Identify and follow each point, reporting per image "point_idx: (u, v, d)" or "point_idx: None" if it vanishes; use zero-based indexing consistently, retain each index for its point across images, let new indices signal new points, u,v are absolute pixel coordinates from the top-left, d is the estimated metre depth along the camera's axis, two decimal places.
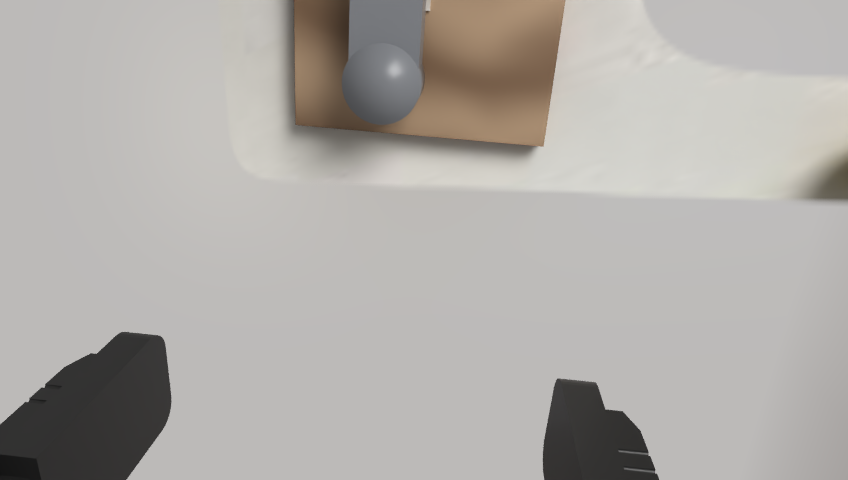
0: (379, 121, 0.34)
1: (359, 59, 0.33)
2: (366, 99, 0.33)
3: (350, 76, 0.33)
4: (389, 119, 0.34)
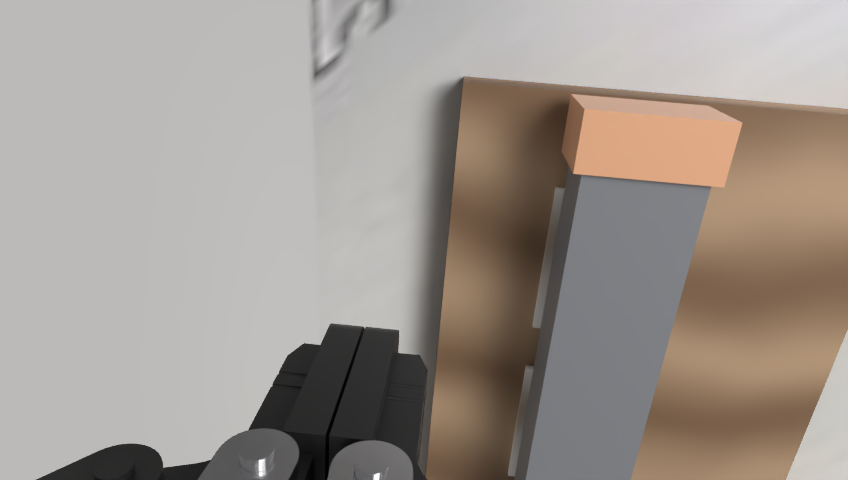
0: None
1: None
2: None
3: None
4: None
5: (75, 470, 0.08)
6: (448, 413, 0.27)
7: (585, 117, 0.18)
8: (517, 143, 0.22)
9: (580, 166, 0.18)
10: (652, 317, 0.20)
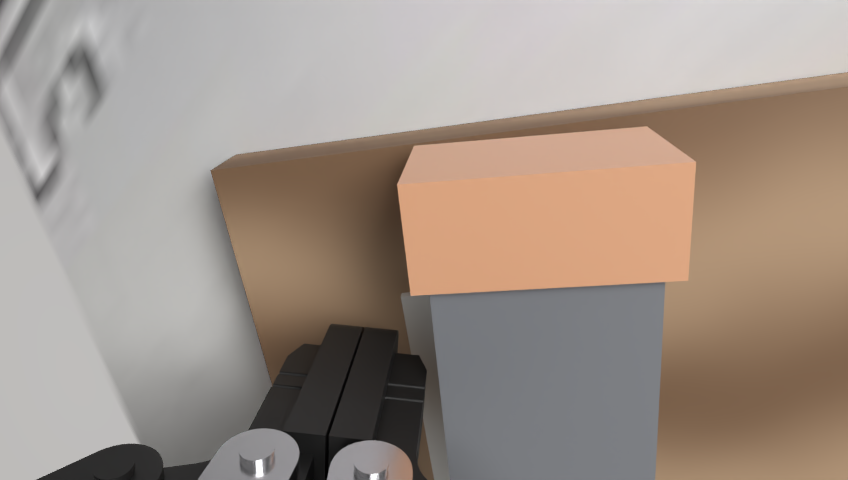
0: None
1: None
2: None
3: None
4: None
5: (75, 470, 0.08)
6: None
7: (402, 199, 0.10)
8: (322, 242, 0.14)
9: (419, 282, 0.10)
10: None
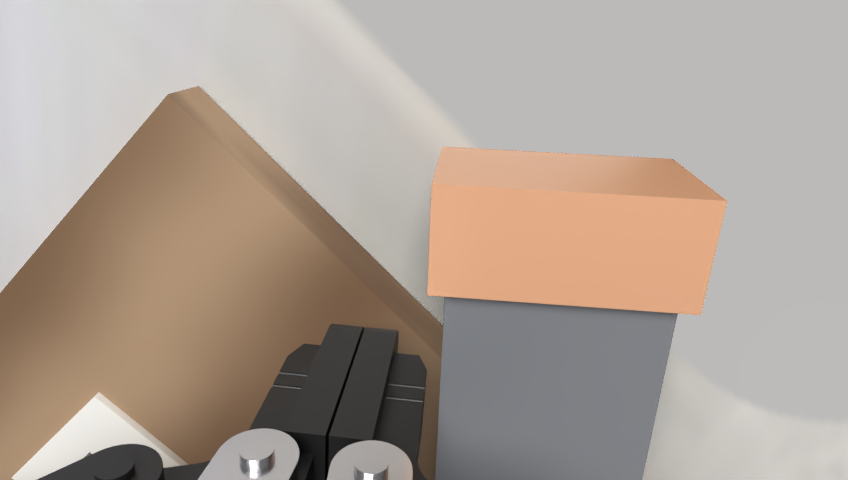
0: None
1: None
2: None
3: None
4: None
5: (75, 470, 0.08)
6: None
7: (434, 198, 0.10)
8: None
9: (438, 283, 0.10)
10: None
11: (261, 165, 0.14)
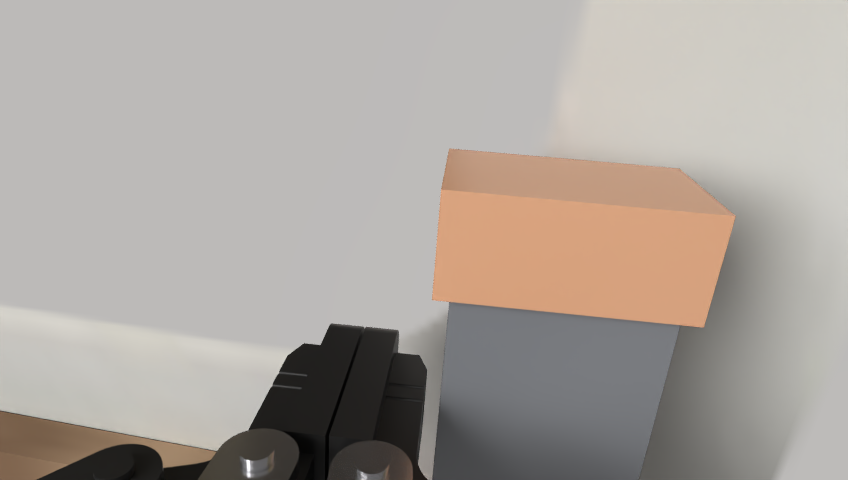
0: None
1: None
2: None
3: None
4: None
5: (75, 470, 0.08)
6: None
7: (443, 204, 0.09)
8: None
9: (443, 288, 0.10)
10: None
11: None
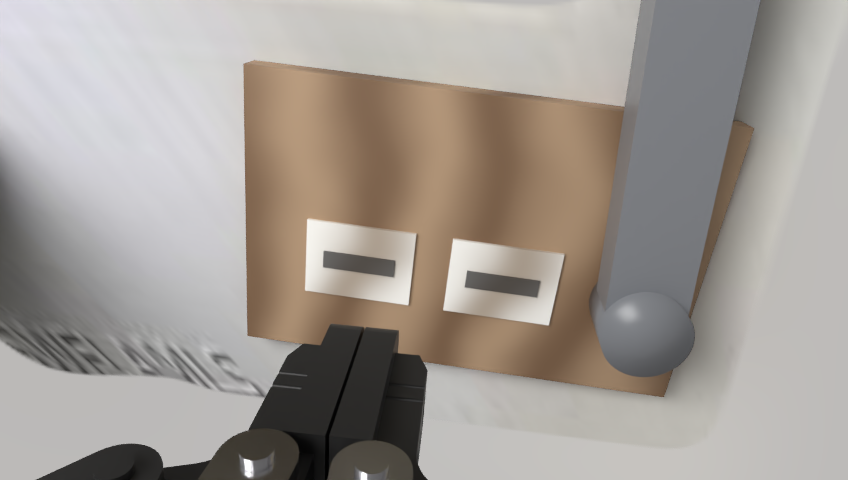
0: (641, 374, 0.29)
1: (625, 314, 0.28)
2: (628, 353, 0.29)
3: (613, 330, 0.29)
4: (653, 372, 0.29)
5: (75, 470, 0.08)
6: (487, 360, 0.35)
7: None
8: (280, 309, 0.35)
9: None
10: (736, 18, 0.24)
11: (295, 67, 0.30)
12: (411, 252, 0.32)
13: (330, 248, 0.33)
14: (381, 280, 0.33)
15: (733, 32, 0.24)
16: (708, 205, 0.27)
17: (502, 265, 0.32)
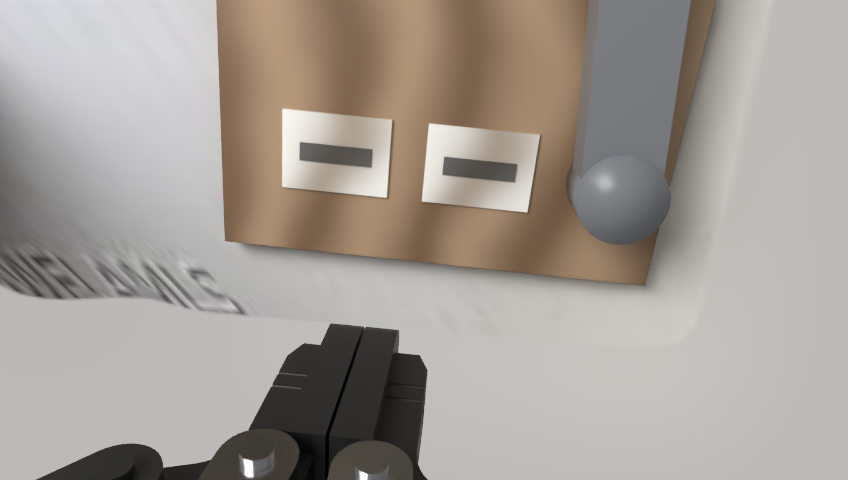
0: (619, 241, 0.30)
1: (601, 176, 0.28)
2: (606, 218, 0.29)
3: (589, 195, 0.29)
4: (631, 238, 0.30)
5: (75, 470, 0.08)
6: (468, 254, 0.35)
7: None
8: (257, 209, 0.34)
9: None
10: None
11: None
12: (387, 139, 0.32)
13: (306, 139, 0.33)
14: (358, 171, 0.33)
15: None
16: (677, 58, 0.27)
17: (479, 149, 0.32)
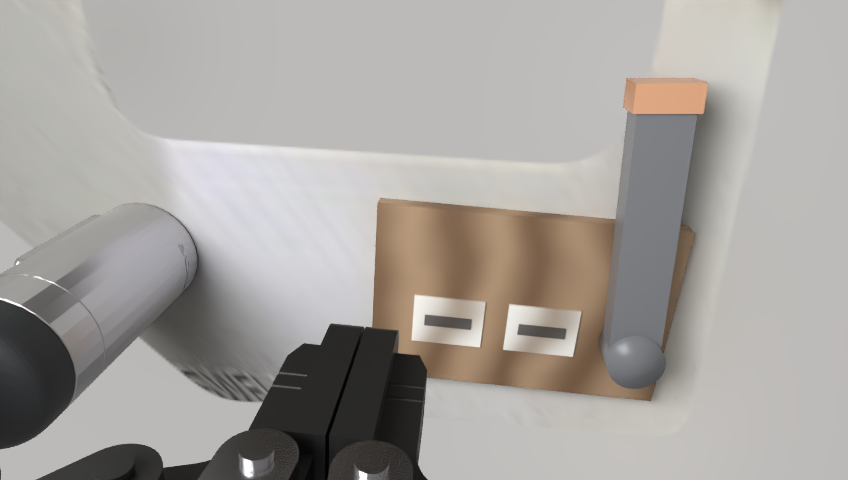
0: (633, 387, 0.47)
1: (621, 350, 0.46)
2: (625, 374, 0.47)
3: (614, 361, 0.46)
4: (641, 385, 0.47)
5: (75, 470, 0.08)
6: (532, 381, 0.52)
7: (637, 87, 0.39)
8: None
9: (636, 110, 0.40)
10: (675, 182, 0.41)
11: (408, 203, 0.48)
12: (482, 313, 0.50)
13: (429, 313, 0.50)
14: (462, 332, 0.51)
15: (674, 190, 0.42)
16: (668, 284, 0.44)
17: (541, 319, 0.50)
